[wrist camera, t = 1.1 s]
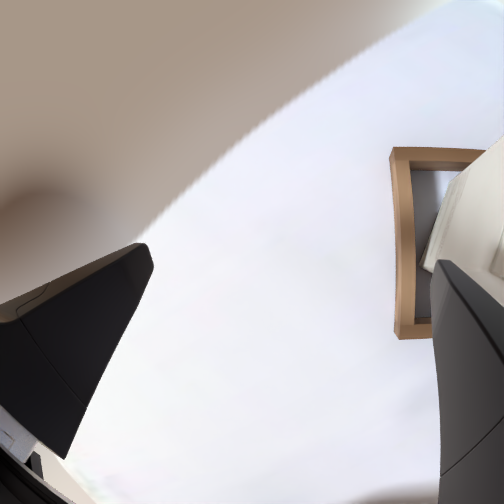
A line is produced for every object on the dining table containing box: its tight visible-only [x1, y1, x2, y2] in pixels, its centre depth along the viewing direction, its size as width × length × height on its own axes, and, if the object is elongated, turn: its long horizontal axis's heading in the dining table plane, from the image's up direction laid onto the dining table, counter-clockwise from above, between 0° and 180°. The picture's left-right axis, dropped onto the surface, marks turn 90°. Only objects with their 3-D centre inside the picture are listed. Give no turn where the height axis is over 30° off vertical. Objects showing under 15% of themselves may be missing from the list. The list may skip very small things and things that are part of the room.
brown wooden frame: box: [389, 147, 486, 340], centre depth 18 cm, size 13×13×2 cm
